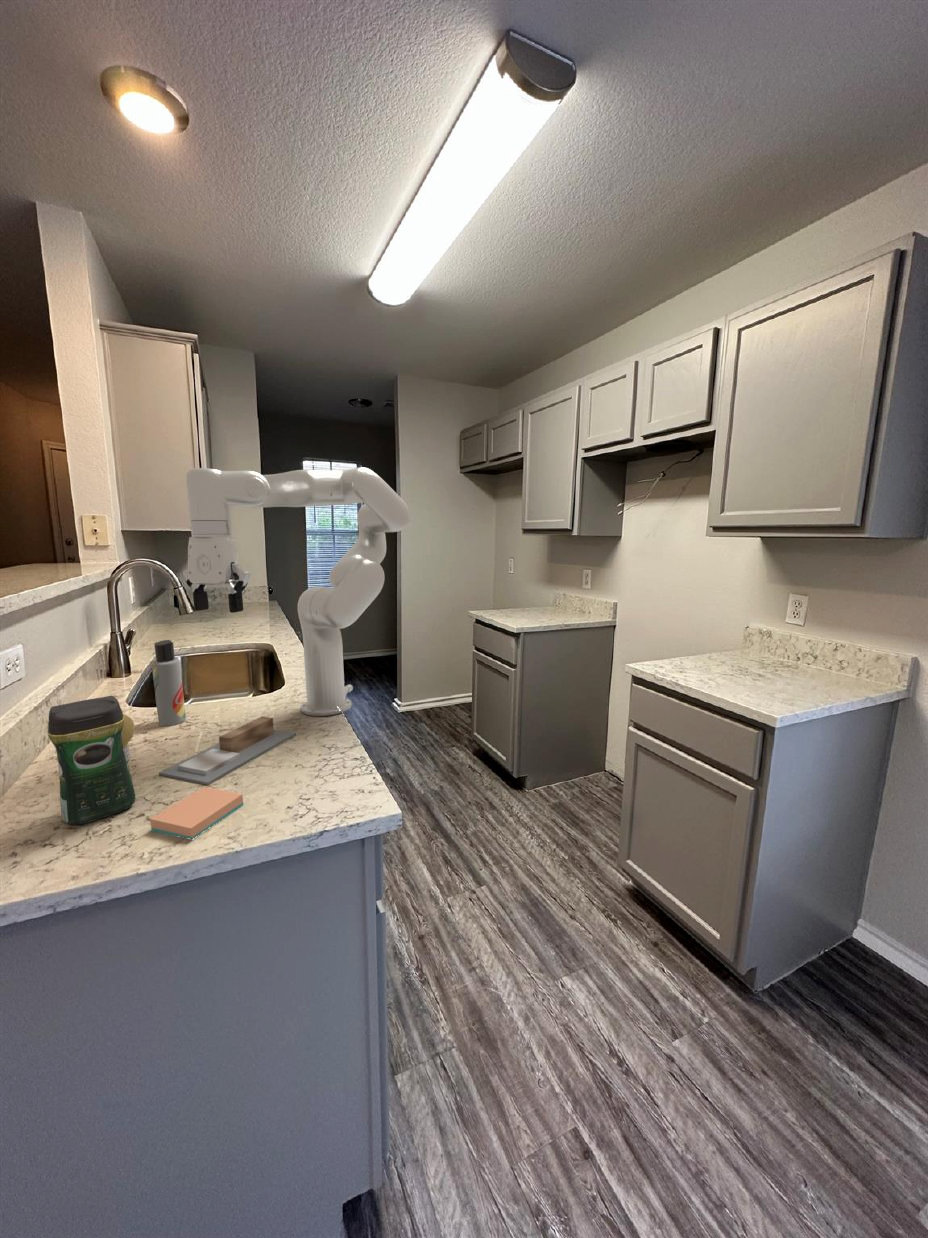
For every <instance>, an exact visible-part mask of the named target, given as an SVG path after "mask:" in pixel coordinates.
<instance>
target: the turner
mask: <svg viewBox="0 0 928 1238" xmlns="http://www.w3.org/2000/svg"><path fill="white" fill-rule="evenodd" d="M274 729H275V728H274V718H273V717H269V716H268V717H267V716H260V717H257V718H255V719H254V720H251V721H249V722H247V723H246V724H243V725H241V726H239V727H236V728H235V729H232V730H230V731H228V732H227V733H223V734H222V735H220V736H218V741H219V742H218V743H220V750H218V749H211V750H209V751H207V752H205V753H203V754H201V755H198V756H196V757H194V758H192V759H190V760H188V761H186V762H184V763H182V764H180V765H178V770H183V771H188V772H193V773H198V774H203V775H208V774H210V773H212V772H213V771H215V770H217V769H219V768H221V767H223V766H224V765H226V764H228V763H230V762H232V761H234V760H235V759H237V758H239V757H240V753H238V752H240V751H242V750H244V749H246V748H247V747H249V746H251V745H253V744H255V743H257V742H259V741H261V740H262V739H264V738H266V737H268V736H270V735H272V734H274Z"/></svg>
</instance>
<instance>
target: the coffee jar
mask: <svg viewBox="0 0 928 1238" xmlns="http://www.w3.org/2000/svg"><path fill="white" fill-rule="evenodd" d="M123 715H124V712H123V710H122V708H121V705H120V702H119V700H118V699H117V698H116V697H115V696H114V695H107V696H102V697H96V698H90V699H84V700H80V701H79V700H78V701H74V702H73V701H72V702H69V703H63V704H59V705H54V706H51V708H50V709H49V712H48V724H47V726H48V727H47V728H48V729H47V735H48V738H49V741H50V742H51V744H52V745H53V746H54V748H55V751H56V755H57V756H56V758H57V762H58V763H57V764H58V775H59V776H58V777H59V780H58V781H59V801H60V803H59V805H60V813H61V817H62V820H63V821H64V823H66V824H69V825H76V826H77V825H82V824H86V823H90V822H94V821H97V820H100V819H102V818H103V819H104V818H105V817H109V816H111V815H114V814H115V815H116V814H117V813H120V812H122V811H125V810H127V809H128V808H130V807H131V806H132V805H133V804H134V803H135V801H136V792H135V787H134V786H135V785H134V782H133V778H132V776H131V771H130V768H129V765H128V762H127V761H126V757H125V753H124V748H123V742H122V729H123V726H124V716H123Z"/></svg>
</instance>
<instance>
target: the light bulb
mask: <svg viewBox="0 0 928 1238" xmlns="http://www.w3.org/2000/svg"><path fill="white" fill-rule="evenodd" d="M123 716H124V726H123V729H122V742H123V748H124V753H125V757H126V761H127V763H128V762H129V761H130V760H131V755H130V754H131V753H130V746H129V745H128V743H130V741H131V740H132V737H133V736H134V733H135V727H136V726H135V723H134V720H133V719H132V718H131V717H130V716H128V715H127V714H123Z"/></svg>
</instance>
